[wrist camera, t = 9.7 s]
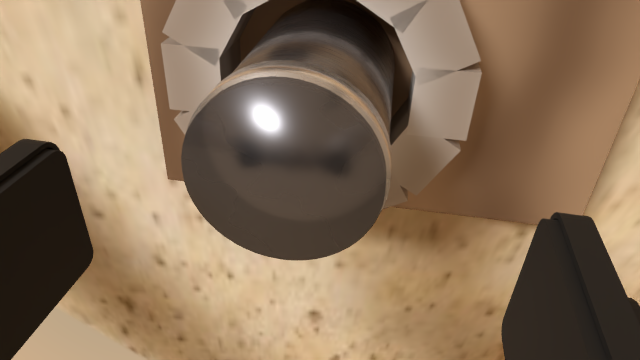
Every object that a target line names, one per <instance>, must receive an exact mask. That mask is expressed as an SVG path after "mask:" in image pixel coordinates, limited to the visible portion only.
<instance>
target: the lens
mask: <svg viewBox="0 0 640 360" xmlns="http://www.w3.org/2000/svg"><path fill="white" fill-rule="evenodd" d="M394 70H395V61H394V53H393V48H392V45H391V43H390V40H389V38H388V36H387V34H386V32H385V30H384V29H383V28H382V26H381V25H380V23H379V22H378V21H377V20H376V19H375V18H374V17H373V16H372V15H371V14H369V13H368V12H367V11H365V10H364V9H362V8H361V7H359V6H357V5H355V4H353V3H350V2H347V1H344V0H308V1H304V2H302V3H300V4H297V5H295V6H294V7H292V8H290V9H289V10H287V11H286V12H285V13H284V14H283V15H281V17H280V18H279V19H278V20H277V21H276V22H275V23H274V24H273V26H272V27H271V28H270V29H269V30H268V31H267V33H266V34H265V35H264V36H263V37H262V39H261V40H260V41H259V42H258V43H257V44H256V46H255V47H254V48H253V49H252V50H251V51H250V53H249V54H248V55H247V56H246V57H245V59H244V60H243V61H242V62H241V63H240V64H239V66H238V67H237V68H236V69H235V70H234V71H233V73H232V74H230V75H228V76H227V77H226V78H224V79H223V80H222V81H221V82H219V83H218V84H217V85H216V87H215V88H214V89H213V90H212V91H211V92H210V93H209V94H208V95H207V97H206V98H205V99H204V100H203V101H202V102H201V103H200V105H199V106H198V107H197V109H196V110H195V112H194V114H193V115H192V117H191V119H190V122H189V124H188V126H187V130H186V134H185V138H184V142H183V145H182V154H181V165H182V173H183V178H184V182H185V185H186V188H187V191H188V193H189V195H190V197H191V199H192V201H193V203H194V204H195V206H196V207H197V209H198V210H199V212H200V213H201V214H202V215H203V217H204V218H205V219H206V220H207V221H208V222H209V223H210V224H211V225H212V226H213V227H214V228H215V229H216V230H217V231H218V232H220V233H221V234H222V235H223V236H225V237H226V238H228V239H229V240H231V241H232V242H234V243H236V244H238V245H239V246H241V247H243V248H245V249H248V250H250V251H252V252H255V253H258V254H261V255H264V256H268V257H272V258H277V259H285V260H310V259H318V258H322V257H327V256H330V255H333V254H335V253H338V252H340V251H342V250H344V249H346V248H348V247H350V246H351V245H353V244H354V243H356V242H357V241H358V240H360V239H361V238H362V237H363V236H364V235H365V234H366V233H367V232H368V231H369V229H370V228H371V227H372V226H373V224H374V223H375V221H376V219H377V218H378V216H379V214H380V212H381V210H382V209H383V207H384V204H385V202H386V199H387V197H388V192H389V188H390V179H391V164H392V153H391V144H390V139H389V137H390V124H391V110H392V97H393V83H394Z"/></svg>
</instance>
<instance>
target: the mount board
mask: <svg viewBox="0 0 640 360" xmlns="http://www.w3.org/2000/svg"><path fill="white" fill-rule="evenodd" d="M140 1H141V8H142V14H143V20H144V27H145V33H146V40H147V46H148V53H149V59H150V66H151V72H152V79H153V85H154V92H155V98H156V105H157V111H158V118H159V124H160V131H161V137H162V144H163V150H164V157H165V163H166V170H167V176H168V179H170V180H179V181H184V178H183V173H182V165H181V154H182V145H183V142H184V138H185V134H186V130H187V126H188V124H189V122H190V119H191V117H192V115H193V114H194V112H195V110H196V109H197V107H198V106H199V105H200V103H201V102H202V101H203V100H204V99H205V98H206V97H207V95H208V94H209V93H210V92H211V91H212V90H213V89H214V88H215V87H216V85H217V84H218V83H219V82H221V81H222V80H223V79H224V78H226V77H227V76H228V75H230V74H232V73H233V71H234V70H235V69H236V68H237V67H238V66H239V64H240V63H241V62H242V61H243V60H244V59H245V57H246V56H247V55H248V54H249V53H250V51H251V50H252V49H253V48H254V47H255V46H256V44H257V43H258V42H259V41H260V40H261V39H262V37H263V36H264V35H265V34H266V33H267V31H268V30H269V29H270V28H271V27H272V26H273V24H274V23H275V22H276V21H277V20H278V19H279V18H280V17H281V15H283V14H284V13H285V12H286V11H287V10H289V9H290V8H292V7H294V6H295V5H297V4H300V3H302V2H304V1H308V0H140ZM344 1H347V2H350V3H353V4H355V5H357V6H359V7H361V8H362V9H364V10H365V11H367V12H368V13H369V14H371V15H372V16H373V17H374V18H375V19H376V20H377V21H378V22H379V23H380V25H381V26H382V28H383V29H384V30H385V32H386V34H387V36H388V38H389V40H390V43H391V45H392V48H393V53H394V61H395V70H394V83H393V97H392V110H391V124H390V137H389V139H390V144H391V153H392V164H391V179H390V188H389V192H388V197H387V199H386V202H385V204H384V207H383V209H385V208H388V207H398V208H407V209H415V210H423V211H431V212H439V213H447V214H455V215H464V216H472V217H480V218H488V219H496V220H504V221H512V222H521V223H529V224H537V225H538V224H539V221H540V220H541V219H543V218H545V219H550V218H551V216H552V215H553V214H554V213H555V212H560V213H567V214H575V215H582V216H583V213H584V211H585V208H586V206H587V204H588V201H589V199H590V197H591V194H592V192H593V189H594V187H595V185H596V182H597V180H598V177H599V175H600V173H601V170H602V168H603V166H604V163H605V161H606V158H607V156H608V154H609V151H610V149H611V147H612V144H613V142H614V139H615V137H616V135H617V132H618V130H619V128H620V125H621V123H622V120H623V118H624V116H625V113H626V111H627V108H628V106H629V104H630V101H631V99H632V97H633V94H634V92H635V89H636V87H637V85H638V82H639V80H640V0H344Z"/></svg>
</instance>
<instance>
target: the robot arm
mask: <svg viewBox="0 0 640 360" xmlns="http://www.w3.org/2000/svg"><path fill="white" fill-rule="evenodd" d="M92 258H93V247H92V244H91V241H90V237H89V234H88V230H87V227H86V223H85V220H84V217H83V213H82V210H81V206H80V203H79V200H78V196H77V193H76V189H75V186H74V182H73V179H72V176H71V172H70V169H69V165H68V162H67V159H66V156H65V154H64V153H63V152H61V151H60V150H59V148H58V147H57V146H56V144H54V143H51V142H45V141H37V140H30V139H22V140H20V141H18V142H17V143H15V144H14V145H12V146H11V147H9V148H8V149H6V150H5V151H4V152H2V153H1V154H0V360H11V359H12V358H13V356H14V355H15V354H16V353H17V352H18V350H19V349H20V348H21V347H22V346H23V345H24V343H25V342H26V341H27V340H28V339H29V337H30V336H31V335H32V334H33V333H34V331H35V330H36V329H37V328H38V326H39V325H40V324H41V323H42V322H43V320H44V319H45V318H46V317H47V316H48V314H49V313H50V312H51V311H52V310H53V309H54V307H55V306H56V305H57V304H58V303H59V301H60V300H61V299H62V298H63V297H64V295H65V294H66V293H67V292H68V291H69V289H70V288H71V287H72V286H73V285H74V283H75V282H76V281H77V280H78V279H79V277H80V276H81V275H82V274H83V273H84V271H85V270H86V269H87V268H88V266H89V265H90V263H91V261H92ZM502 342H503V349H504V356H505V360H640V306H639V304H638V303H637V302H636V301H635V300H633V299H632V298H628V297H627V295H626V293H625V290H624V288H623V286H622V284H621V281H620V279H619V277H618V275H617V272H616V270H615V268H614V266H613V264H612V261H611V259H610V257H609V255H608V252H607V250H606V248H605V246H604V243H603V241H602V239H601V237H600V234H599V232H598V230H597V228H596V225H595V223H594V221H593V220H592V218H591V217H589V216H582V215H575V214H567V213H560V212H555V213H554V214H553V215H552V216H551V218H550V219H545V218H543V219H541V220H540V221H539V224H538V226H537V229H536V231H535V234H534V237H533V239H532V242H531V245H530V248H529V250H528V253H527V256H526V258H525V261H524V264H523V267H522V269H521V272H520V275H519V277H518V280H517V283H516V285H515V288H514V291H513V294H512V296H511V299H510V302H509V304H508V307H507V310H506V313H505V315H504V318H503V323H502Z"/></svg>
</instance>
